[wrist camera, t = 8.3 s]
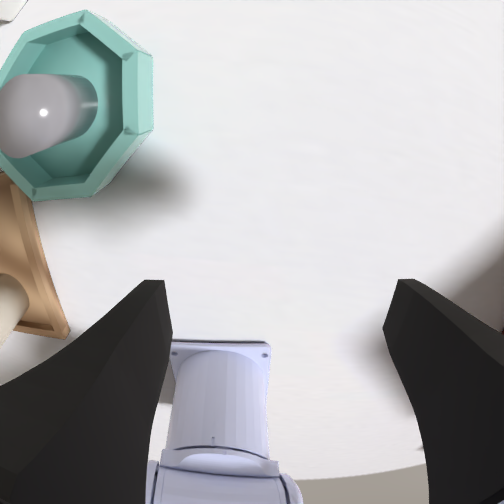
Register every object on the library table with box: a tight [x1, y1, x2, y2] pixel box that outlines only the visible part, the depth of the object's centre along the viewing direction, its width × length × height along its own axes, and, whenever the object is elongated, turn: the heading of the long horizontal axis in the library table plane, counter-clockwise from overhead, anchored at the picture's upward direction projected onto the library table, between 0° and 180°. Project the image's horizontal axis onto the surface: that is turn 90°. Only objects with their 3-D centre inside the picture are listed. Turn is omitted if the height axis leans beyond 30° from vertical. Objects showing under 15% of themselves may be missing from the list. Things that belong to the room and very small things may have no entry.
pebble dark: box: [0, 74, 98, 158], centre depth 12 cm, size 4×4×5 cm
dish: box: [0, 10, 153, 202], centre depth 13 cm, size 10×10×3 cm
